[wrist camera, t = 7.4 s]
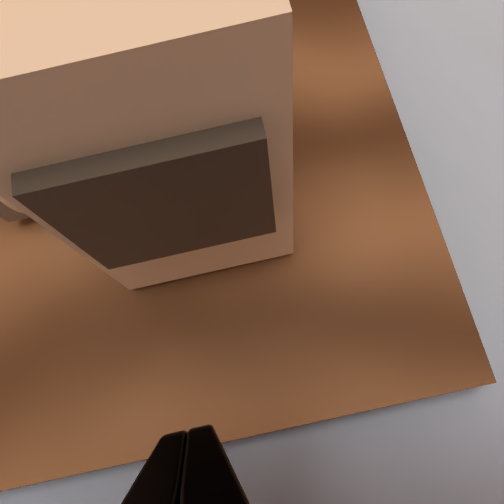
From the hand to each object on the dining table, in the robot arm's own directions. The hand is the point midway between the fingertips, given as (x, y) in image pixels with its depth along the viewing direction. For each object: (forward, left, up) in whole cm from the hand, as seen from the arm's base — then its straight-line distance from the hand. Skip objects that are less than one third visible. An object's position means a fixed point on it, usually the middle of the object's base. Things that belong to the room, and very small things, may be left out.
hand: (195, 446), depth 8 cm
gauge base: (+9, 0, -7) cm, 11 cm away
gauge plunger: (+6, +2, -5) cm, 8 cm away
